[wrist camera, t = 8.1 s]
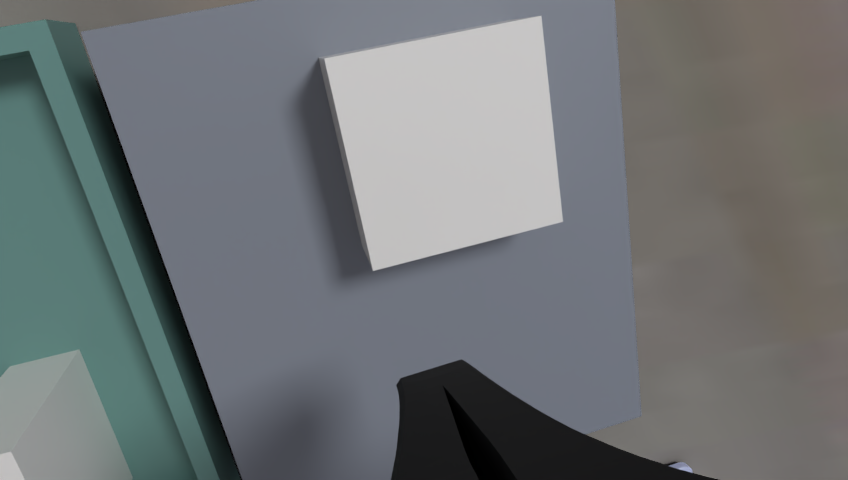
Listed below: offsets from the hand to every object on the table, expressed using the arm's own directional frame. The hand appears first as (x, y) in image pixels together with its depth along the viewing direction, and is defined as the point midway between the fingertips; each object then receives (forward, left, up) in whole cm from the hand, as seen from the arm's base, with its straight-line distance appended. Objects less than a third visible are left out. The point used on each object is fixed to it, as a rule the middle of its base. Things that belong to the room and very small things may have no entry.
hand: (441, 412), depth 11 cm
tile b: (+4, -2, -6) cm, 8 cm away
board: (+1, -1, -9) cm, 9 cm away
